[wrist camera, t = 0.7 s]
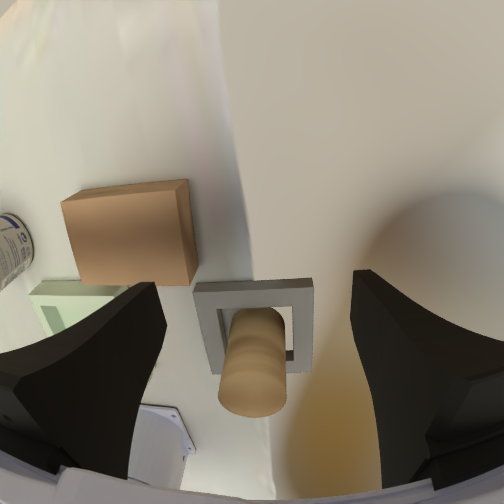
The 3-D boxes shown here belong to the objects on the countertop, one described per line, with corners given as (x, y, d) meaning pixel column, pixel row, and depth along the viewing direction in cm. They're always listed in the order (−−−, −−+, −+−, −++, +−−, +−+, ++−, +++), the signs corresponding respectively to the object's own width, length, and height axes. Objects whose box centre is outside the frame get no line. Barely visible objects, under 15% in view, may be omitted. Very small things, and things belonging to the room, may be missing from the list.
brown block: (199, 263, 22) (189, 286, 19) (100, 264, 23) (82, 284, 20) (188, 177, 19) (175, 190, 17) (83, 189, 20) (60, 202, 17)
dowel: (285, 344, 24) (286, 416, 18) (234, 346, 25) (223, 417, 18) (283, 303, 23) (285, 376, 16) (228, 305, 23) (212, 377, 17)
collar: (310, 361, 25) (311, 371, 24) (214, 364, 26) (212, 374, 25) (311, 277, 22) (313, 287, 20) (196, 283, 22) (192, 292, 21)
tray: (155, 366, 26) (148, 384, 24) (77, 358, 27) (67, 373, 25) (125, 279, 23) (113, 296, 21) (42, 281, 23) (28, 294, 21)
